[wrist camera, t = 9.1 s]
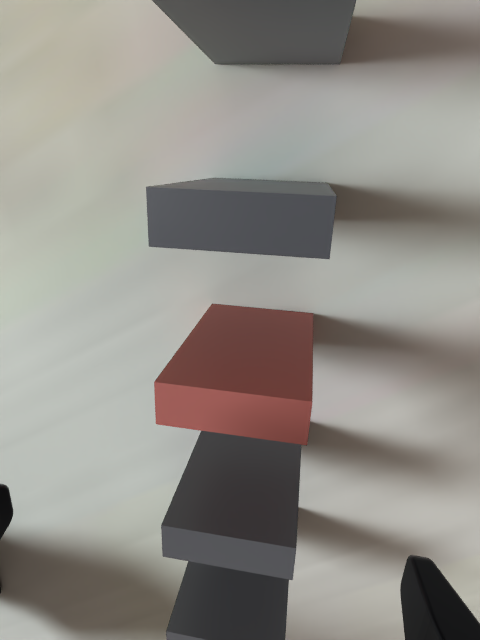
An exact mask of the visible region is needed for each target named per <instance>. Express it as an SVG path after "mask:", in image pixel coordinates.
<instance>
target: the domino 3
mask: <svg viewBox="0 0 480 640" xmlns="http://www.w3.org/2000/svg"><path fill="white" fill-rule="evenodd" d="M312 383H313V313H304V312H293V311H283V310H272V309H262V308H251V307H241V306H230V305H219V304H212V305H211V306H210V307H209V309H208V310H207V311H206V313H205V314H204V315H203V317H202V318H201V319H200V321H199V322H198V324H197V325H196V326H195V328H194V329H193V330H192V332H191V333H190V334H189V336H188V337H187V338H186V340H185V341H184V343H183V344H182V345H181V347H180V348H179V349H178V351H177V352H176V353H175V355H174V356H173V357H172V359H171V360H170V361H169V363H168V364H167V366H166V367H165V368H164V370H163V371H162V372H161V374H160V375H159V376H158V378H157V379H156V380H155V382H154V387H155V412H156V424H158V425H166V426H173V427H180V428H187V429H194V430H201V431H208V432H216V433H223V434H230V435H237V436H244V437H251V438H258V439H266V440H273V441H280V442H287V443H294V444H301V445H307V442H308V433H309V425H310V417H311V408H312Z"/></svg>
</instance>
